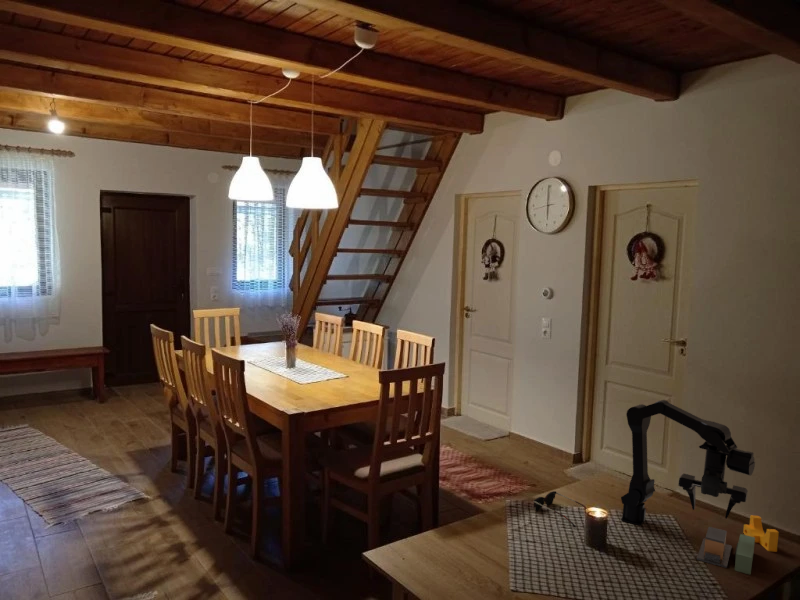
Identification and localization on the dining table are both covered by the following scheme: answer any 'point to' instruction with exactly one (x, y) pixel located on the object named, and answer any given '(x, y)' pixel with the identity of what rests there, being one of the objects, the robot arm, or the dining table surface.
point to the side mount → (714, 556)
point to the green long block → (744, 554)
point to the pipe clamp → (761, 534)
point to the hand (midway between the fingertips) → (709, 513)
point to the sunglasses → (549, 500)
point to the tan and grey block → (715, 541)
